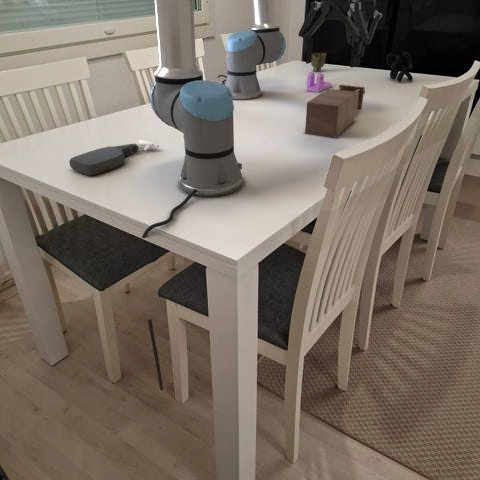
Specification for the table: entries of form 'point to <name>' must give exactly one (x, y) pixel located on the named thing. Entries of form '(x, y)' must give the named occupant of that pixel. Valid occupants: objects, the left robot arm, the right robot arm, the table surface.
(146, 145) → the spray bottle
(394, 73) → the squiggle
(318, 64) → the olive tapered piece
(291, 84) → the table surface
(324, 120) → the brown rectangular box
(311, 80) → the bracket
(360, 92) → the drawer
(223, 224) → the table surface
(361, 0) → the right robot arm
